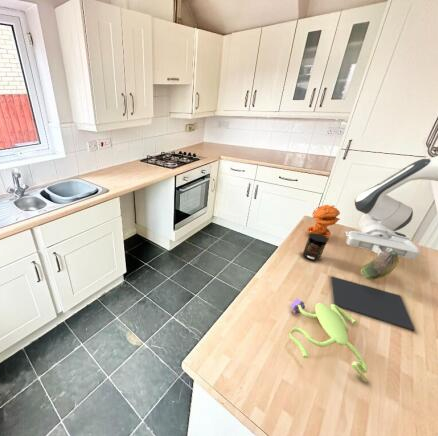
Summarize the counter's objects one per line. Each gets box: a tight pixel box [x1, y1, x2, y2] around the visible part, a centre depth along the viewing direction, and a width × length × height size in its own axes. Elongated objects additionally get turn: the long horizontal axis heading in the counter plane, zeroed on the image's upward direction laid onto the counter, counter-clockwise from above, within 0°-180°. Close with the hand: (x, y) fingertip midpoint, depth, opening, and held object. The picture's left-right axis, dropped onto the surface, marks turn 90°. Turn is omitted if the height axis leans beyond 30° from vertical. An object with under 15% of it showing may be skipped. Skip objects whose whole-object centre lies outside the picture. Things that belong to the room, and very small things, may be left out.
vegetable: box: [360, 251, 400, 280], centre depth 86 cm, size 6×6×20 cm
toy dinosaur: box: [306, 204, 341, 240], centre depth 116 cm, size 11×11×18 cm
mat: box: [331, 276, 415, 332], centre depth 84 cm, size 20×16×1 cm
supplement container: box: [302, 233, 329, 262], centre depth 104 cm, size 7×7×10 cm
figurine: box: [289, 298, 368, 383], centre depth 72 cm, size 18×27×6 cm
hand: (384, 255), depth 86 cm, fingers closed, pressing on vegetable
